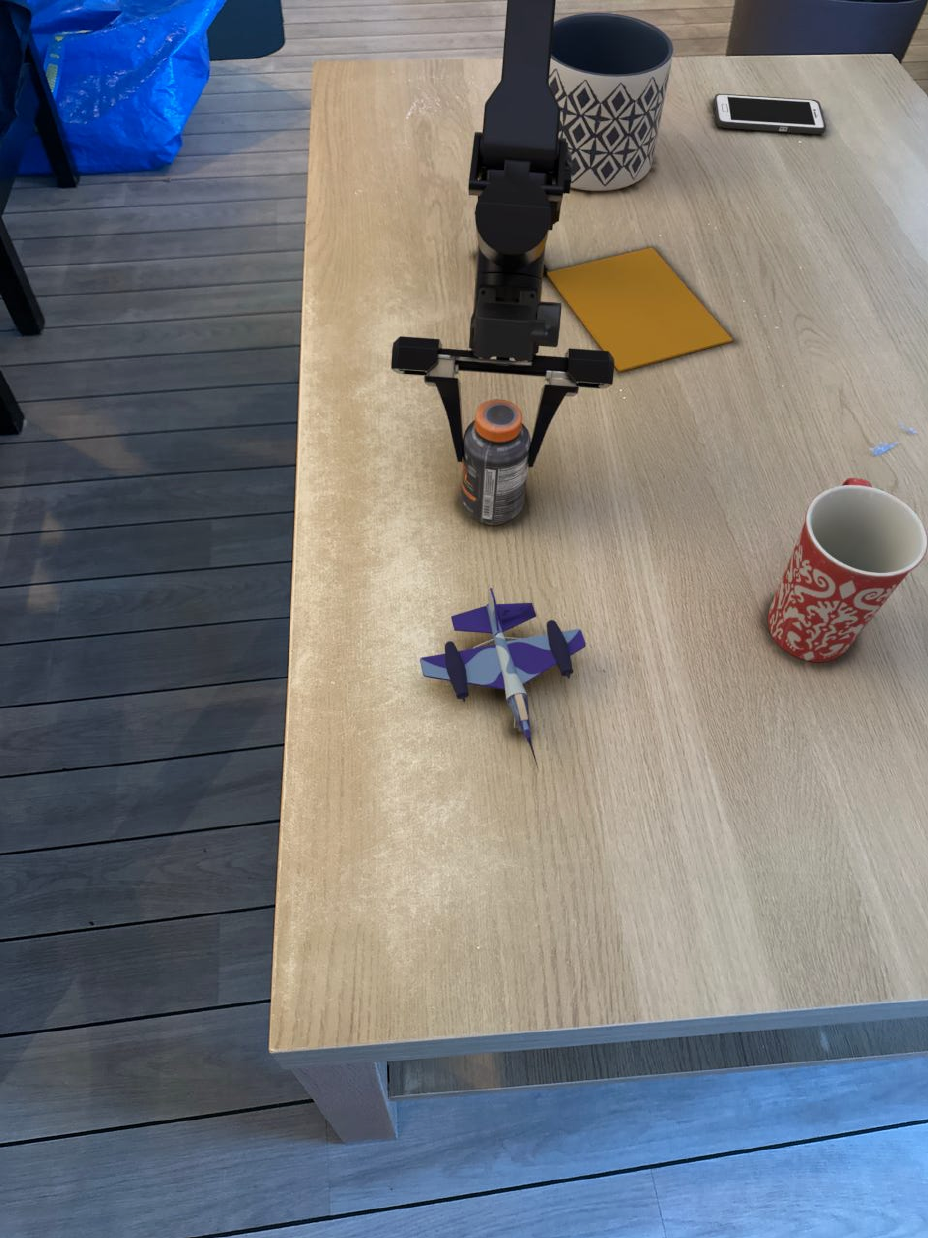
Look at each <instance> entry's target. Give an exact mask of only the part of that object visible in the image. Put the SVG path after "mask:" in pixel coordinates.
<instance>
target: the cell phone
mask: <svg viewBox="0 0 928 1238" xmlns="http://www.w3.org/2000/svg"><path fill="white" fill-rule="evenodd" d="M713 108H714V111H715V113H714V114H715V116H714V117H715V121H716V125H717V126H718V127H719V128H723V129H724V128H725V129H735V130H751V131H768V132H781V133H783V132H784V133H798V134H813V135H818V134H819V135H820V134H824V133H825V131H826V127H827V124H826V119H825V117H824V113H823V109H822V105H821V102H819V100H816V99H811V98H794V97H780V96H765V95H750V94H734V93H732V94H731V93H716V94H715V95H714V98H713Z"/></svg>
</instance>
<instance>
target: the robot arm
mask: <svg viewBox="0 0 928 1238" xmlns="http://www.w3.org/2000/svg"><path fill="white" fill-rule="evenodd" d="M556 1H557V0H506V11H505V12H506V13H505V24H504V26H505V27H504V37H503V38H504V39H503V52H502V65H501V76H500V81H499V82H498V83H497V85H496V87H495V88H494V90H493V91H492V92H491V94H490V95H489V97H488V99H487V100H486V101H485V103H484V107H483V108H484V111H483V124H482V131H474V133H473V135H474V136H473V143H472V150H471V151H472V152H471V160H470V168H469V177H468V189H467V190H468V195H469V196H474V197H477V202H476V203H475V209H474V221H475V230H476V239H477V240H476V241H477V251H476V268H475V279H474V280H475V283H474V293H473V295H474V296H473V308H472V309H473V310H472V314H471V317H470V325H469V336H468V337H469V339H468V349H459V348H458V349H455V348H445V347H444V348H443V343H442V341H441V340H440V338H431V337H418V336H417V337H416V336H401V335H399V337H397V339H396V340H395V341H393V342H392V348H391V363H390V369H391V371H393V372H394V373H395V374H399V375H407V376H419V377H422V376H423V382H424V384H425V385H427V386H428V387H432V388H436V389H437V392H438V394H439V397H440V399H441V402H442V406H443V408H444V410H445V414H446V416H447V421H448V425H449V429H450V434H451V435H450V436H451V438H452V444H453V447H454V452H455V457H456V461H457V463H463V438H464V424H463V423H464V421H463V406H462V385H461V382H460V379H459V378H458V377H457V376H459V375H460V372H466V373H467V372H468V373H480V374H481V373H482V374H496V375H497V374H498V375H510V376H511V375H512V376H524V377H525V376H526V377H538V378H544V382H546V384H543V387H542V388H541V391H540V395H539V401H538V405H537V410H536V416H535V419H534V420H535V421H534V424H533V429H532V434H531V437H530V439H531V444H530V451H529V459H528V468H533V467H534V465H535V463H536V460H537V458H538V455H539V453H540V450H541V448H542V445H543V442H544V440H545V438H546V437H545V436H546V435H547V432H548V429H549V428H550V427H549V426H550V425H551V422H552V420H553V418H554V417H555V415H556V413H557V411H558V409H559V407H560V405H562V402H563V400H564V399H565V397H570V398H571V397H575V396H576V395H577V394H579V390H580V388H586V389H600V390H601V389H605V390H606V389H608V388H609V387H611V386H613V384H614V375H615V374H614V373H615V366H614V358H613V356H612V355H611V354H610V352H609V351H603V350H598V349H585V348H584V349H583V348H571V347H569V348H568V349H567V350H566V352H565V353H564V356H555V355H540V354H538V353H539V349H540V347H547V348H548V347H549V348H557V347H558V346H559V339H560V330H561V317H562V303H561V302H555V301H542V294H543V293H542V292H543V279H544V276H547V275H546V274H547V273H548V272H549V269H548V267H547V266H546V263H545V257H546V246H547V241H548V236H549V233H550V231H553V229H554V225H555V224H557V223H558V222H560V217H561V216H560V215H561V208H562V203H563V197H564V194H570V193H571V176H572V154H571V152H570V151H569V150H568V142H566V138H558V137H559V125H560V113H561V110H560V106H559V104H558V102H557V100H556V98H555V96H554V94H553V92H552V90H551V87H550V85H549V74H550V62H551V50H552V39H553V27H554V22H555V15H556ZM469 349H470V350H469ZM511 359H513V360H511Z"/></svg>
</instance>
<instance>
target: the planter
mask: <svg viewBox="0 0 928 1238" xmlns="http://www.w3.org/2000/svg"><path fill="white" fill-rule="evenodd" d="M674 51H675V50H674V46H673V42H672V40H671V39H670V37H669V36H668V35H667V34H666V33H665V32H664V31H663V30H661V28H659V27H657V26H655V25H654V24H651V23H649V22H647V21H645V20H643V19H640V18H637V17H633V16H629V15H624V14H619V13H611V12H586V13H585V12H584V13H578V14H572V15H568V16H566V17H562V18H559V19H557V20H554V27H553V39H552V50H551V62H550V74H549V85H550V87H551V90H552V92H553V94H554V96H555V98H556V100H557V102H558V104H559V106H560V110H561V113H560V125H559V137H558V138H566V142H568V150H569V151H570V152H571V154H572V176H571V187H570V189H575V190H581V191H590V192H607V191H608V192H609V191H613V190H614V191H615V190H619V189H623V188H626V187H629V186H631V185H633V184H635V183H637V182H639V181H640V180H642V179H643V178H644V177H645V176H646V175H647V174H648V173H649V172H650V170H651V168H652V166H653V162H654V161H653V160H654V155H655V151H656V145H657V141H658V137H659V136H658V135H659V130H660V126H661V125H660V124H661V120H662V115H663V110H664V105H665V100H666V94H667V89H668V83H669V79H670V73H671V70H672V69H671V68H672V64H673V63H672V62H673V57H674Z"/></svg>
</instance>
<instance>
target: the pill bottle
mask: <svg viewBox="0 0 928 1238" xmlns="http://www.w3.org/2000/svg"><path fill="white" fill-rule="evenodd" d="M530 444H531V435H530V432H529V429H528V428H527V427H526V425H525V424H524V423H523V413H522V411H521V409H520V407H519V406H517V404H515V403H513V402H512V401H510V400H506V399H501V398H499V399H497V398H496V399H495V398H494V399H490V400H487V401H485V402H483V403H482V404H480V405H479V406H478V408H477V409H476V411H475V419H474V420H472V421H471V422H470V423H469V424H468V426H467V427H466V429H465V431H464V432H463V460H462V467H461V488H460V489H461V492H460V493H461V494H460V502H461V507H462V509H463V511H464V512H465V513H466V515H467V516H469V518H471V519H473V520H475V521H476V522H478V523H481V524H484V525H492V526H493V525H494V526H495V525H502V524H506V523H508V522H510V521H513V520H514V519H516V518H517V516H519V515H520V513H521V512H522V510H523V507H524V503H525V497H526V488H527V480H528V471H529V467H528V459H529V451H530Z"/></svg>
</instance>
